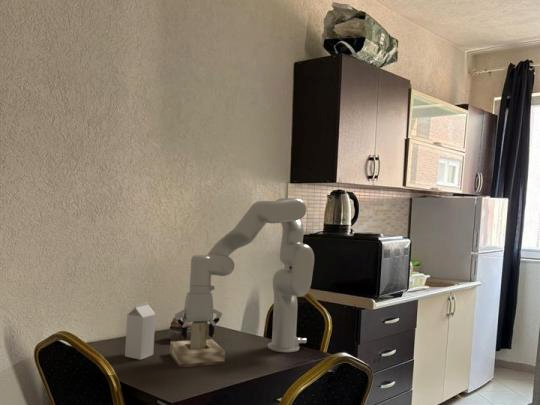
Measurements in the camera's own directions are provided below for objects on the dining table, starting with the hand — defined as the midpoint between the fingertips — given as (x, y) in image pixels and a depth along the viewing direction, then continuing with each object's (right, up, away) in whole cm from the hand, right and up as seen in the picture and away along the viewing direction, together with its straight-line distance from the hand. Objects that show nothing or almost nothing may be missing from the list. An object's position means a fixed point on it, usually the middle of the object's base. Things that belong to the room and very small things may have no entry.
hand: (197, 337), depth 175 cm
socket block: (0, -8, 0) cm, 8 cm away
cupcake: (-11, -8, +23) cm, 27 cm away
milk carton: (-21, -7, 0) cm, 22 cm away
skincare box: (0, -7, 0) cm, 7 cm away
